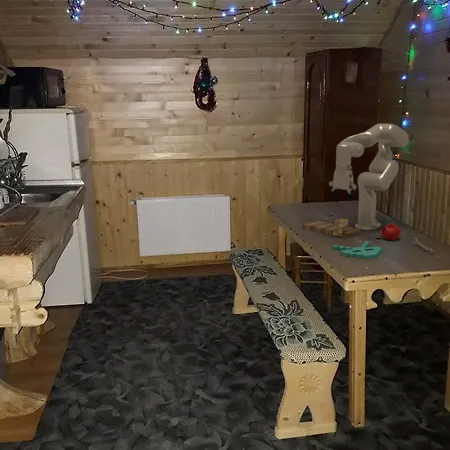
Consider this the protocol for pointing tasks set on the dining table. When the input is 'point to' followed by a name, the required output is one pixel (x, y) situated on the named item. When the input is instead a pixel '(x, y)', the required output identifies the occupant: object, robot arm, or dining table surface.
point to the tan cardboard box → (340, 227)
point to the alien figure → (360, 251)
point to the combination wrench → (422, 246)
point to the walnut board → (329, 228)
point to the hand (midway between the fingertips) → (342, 199)
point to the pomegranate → (390, 232)
